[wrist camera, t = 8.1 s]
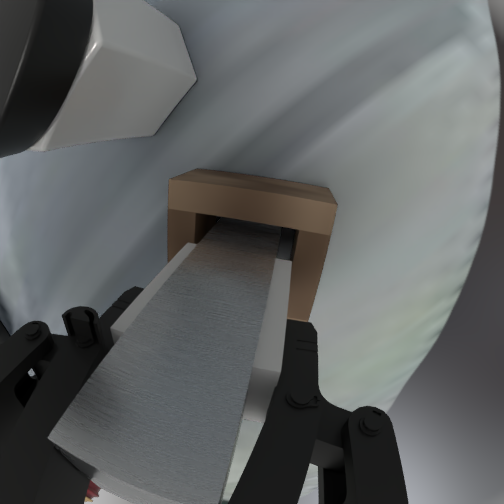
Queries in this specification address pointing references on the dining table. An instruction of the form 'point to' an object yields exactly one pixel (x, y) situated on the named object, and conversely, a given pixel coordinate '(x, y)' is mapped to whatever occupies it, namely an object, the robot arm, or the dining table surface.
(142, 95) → the jar
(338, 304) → the dining table surface
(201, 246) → the gray rectangular bar
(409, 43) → the dining table surface
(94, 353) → the robot arm
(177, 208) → the wooden square frame
